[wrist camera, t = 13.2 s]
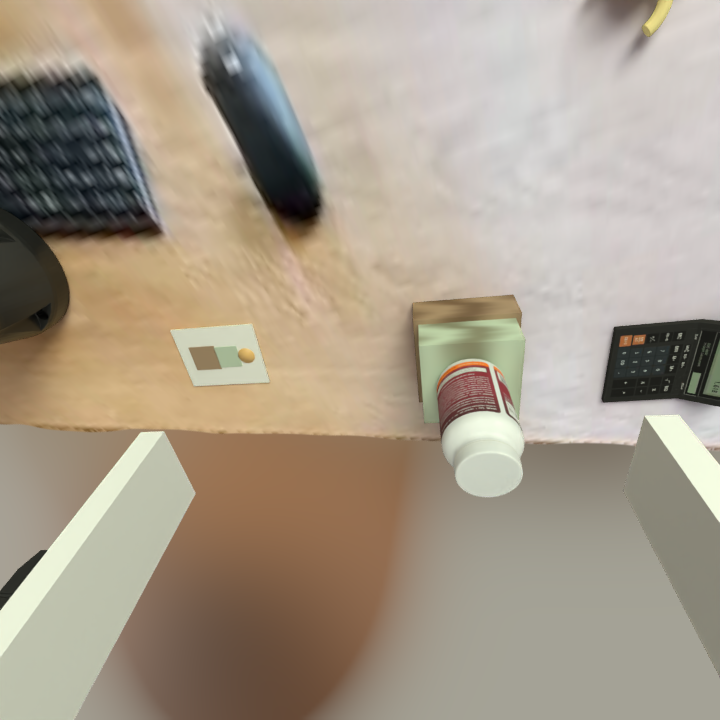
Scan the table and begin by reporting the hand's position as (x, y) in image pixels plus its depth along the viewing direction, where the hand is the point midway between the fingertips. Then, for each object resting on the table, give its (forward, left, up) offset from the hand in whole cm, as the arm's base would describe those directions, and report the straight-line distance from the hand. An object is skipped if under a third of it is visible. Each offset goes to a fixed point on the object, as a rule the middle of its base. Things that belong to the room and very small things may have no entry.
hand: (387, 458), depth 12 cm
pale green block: (+5, -15, -32) cm, 35 cm away
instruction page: (-23, -15, -32) cm, 42 cm away
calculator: (+26, -19, -32) cm, 46 cm away
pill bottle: (+5, -15, -24) cm, 29 cm away
